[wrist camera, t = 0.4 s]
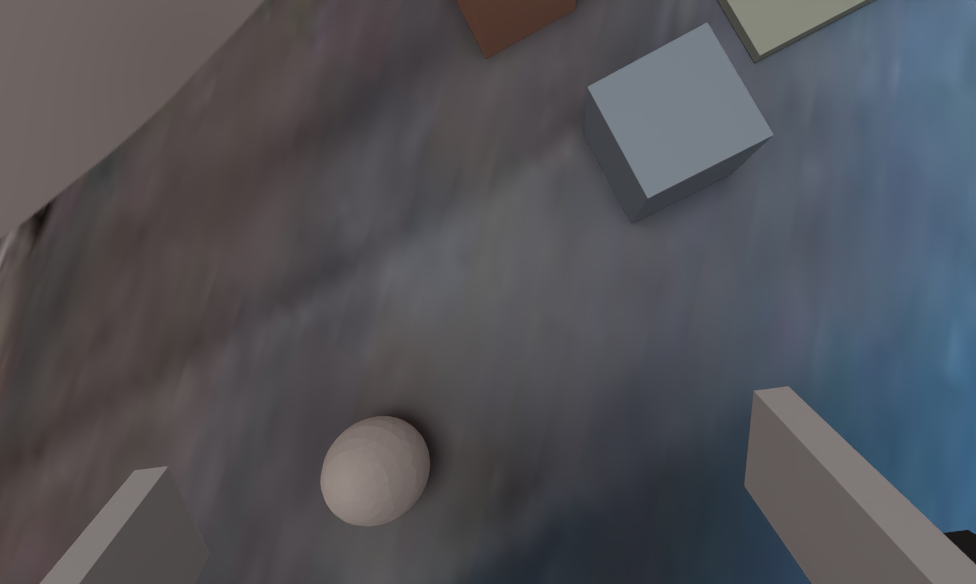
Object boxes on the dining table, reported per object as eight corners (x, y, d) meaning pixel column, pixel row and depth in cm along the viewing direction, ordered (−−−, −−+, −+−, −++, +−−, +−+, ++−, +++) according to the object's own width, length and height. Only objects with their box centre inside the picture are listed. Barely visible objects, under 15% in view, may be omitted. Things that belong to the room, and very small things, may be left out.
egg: (349, 416, 31) (281, 445, 23) (432, 398, 30) (389, 422, 23) (367, 504, 30) (303, 562, 23) (451, 488, 29) (413, 542, 22)
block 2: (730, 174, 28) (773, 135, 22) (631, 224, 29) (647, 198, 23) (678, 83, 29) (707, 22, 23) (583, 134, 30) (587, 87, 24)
